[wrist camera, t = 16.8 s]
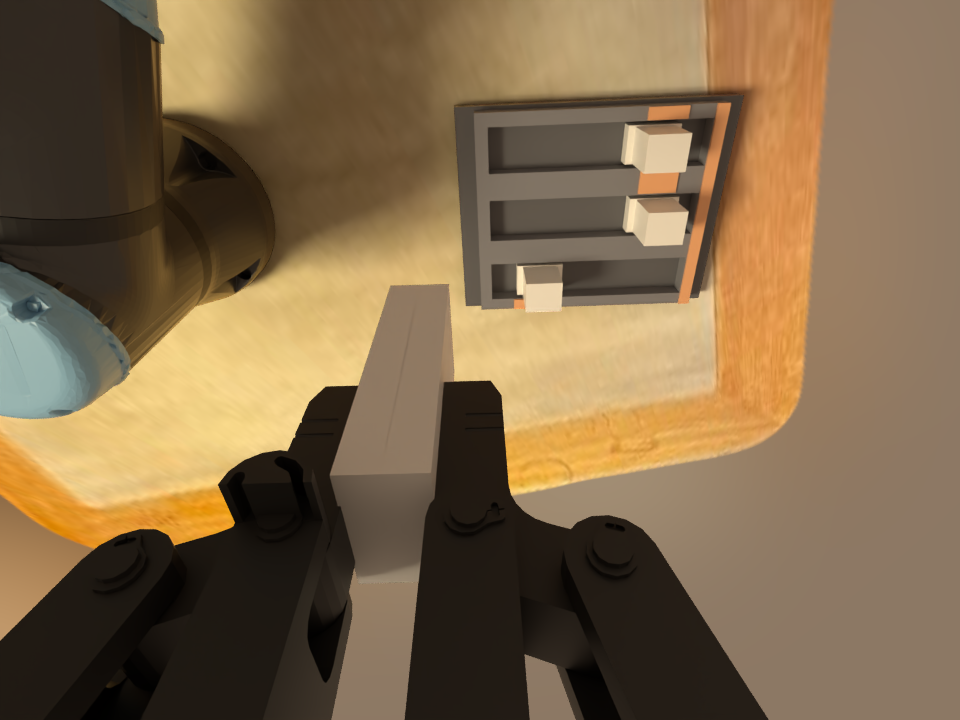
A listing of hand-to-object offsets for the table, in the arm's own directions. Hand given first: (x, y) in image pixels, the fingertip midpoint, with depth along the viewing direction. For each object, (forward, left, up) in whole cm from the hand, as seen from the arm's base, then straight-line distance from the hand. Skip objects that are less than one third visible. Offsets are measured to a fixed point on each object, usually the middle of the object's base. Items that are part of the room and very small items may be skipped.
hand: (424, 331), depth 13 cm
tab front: (+15, -1, -31) cm, 34 cm away
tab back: (+7, -12, -31) cm, 34 cm away
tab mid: (+16, -7, -31) cm, 35 cm away
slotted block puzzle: (+11, -7, -32) cm, 34 cm away
